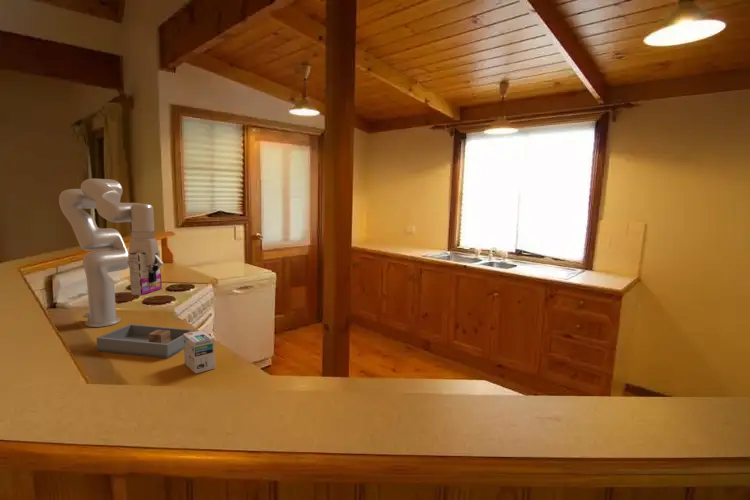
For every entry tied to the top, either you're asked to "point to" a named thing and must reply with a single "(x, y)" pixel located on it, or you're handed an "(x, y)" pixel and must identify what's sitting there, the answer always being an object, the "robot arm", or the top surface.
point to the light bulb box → (199, 351)
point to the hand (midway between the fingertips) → (146, 281)
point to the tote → (141, 341)
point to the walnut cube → (160, 336)
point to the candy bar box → (142, 275)
